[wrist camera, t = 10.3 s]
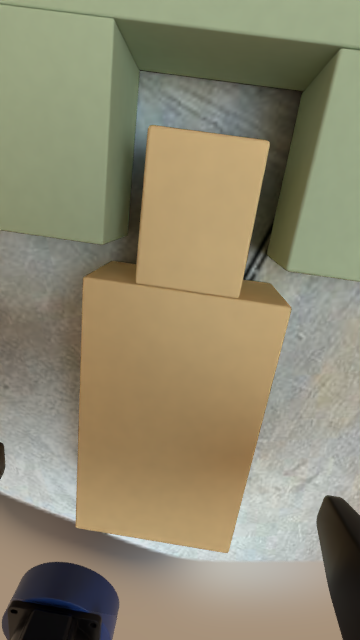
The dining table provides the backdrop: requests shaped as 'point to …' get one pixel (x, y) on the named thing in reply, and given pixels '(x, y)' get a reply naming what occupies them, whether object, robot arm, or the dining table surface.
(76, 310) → the dining table surface
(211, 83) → the dining table surface
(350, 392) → the dining table surface
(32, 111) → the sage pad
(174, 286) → the sand pad
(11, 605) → the robot arm
